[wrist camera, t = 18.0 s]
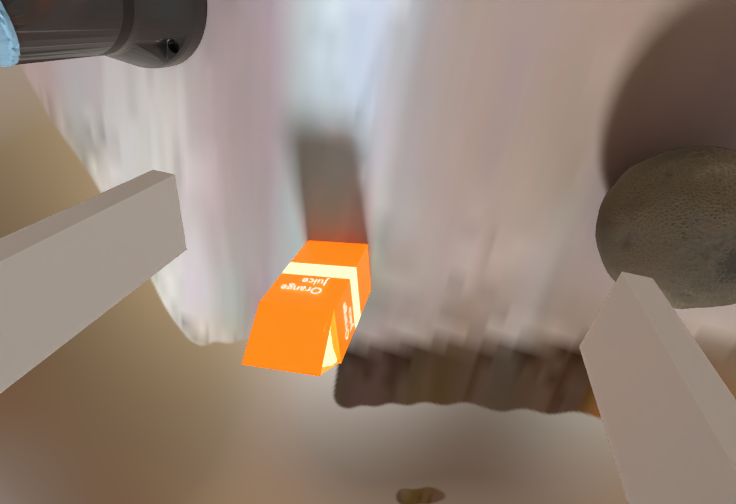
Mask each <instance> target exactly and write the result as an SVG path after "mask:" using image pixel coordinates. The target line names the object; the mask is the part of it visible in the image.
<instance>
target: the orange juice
mask: <svg viewBox="0 0 736 504" xmlns="http://www.w3.org/2000/svg"><path fill="white" fill-rule="evenodd" d="M370 291H371V282H370V268H369V254H368V244H357V243H341V242H325V241H307V242H306V244H305V245H304V246H303V248H302V249H301V250H300V251H299V253H298V254H297V255H296V256H295V258H294V259H293V260H292V261H291V262H290V263H289V265H288V266H287V267H286V268H285V270H284V271H283V272H282V274H281V275H280V277H279V278H278V279H277V280H276V282H275V283H274V284H273V286H272V287H271V288H270V289H269V291H268V292H267V293H266V294H265V296H264V297H263V298H262V299H261V301H260V302H259V306H258V309H257V313H256V316H255V320H254V323H253V327H252V330H251V333H250V337H249V340H248V344H247V348H246V351H245V354H244V358H243V361H242V365H249V366H256V367H262V368H268V369H275V370H282V371H289V372H296V373H302V374H309V375H315V376H320V375H321V374H322V373H324V372H325V371H327V370H329V369H330V368H332V367H334V366H335V365H337V364H339V363H341V362H342V360H343V357H344V355H345V352H346V350H347V347H348V345H349V342H350V340H351V338H352V335H353V333H354V330H355V329H356V326H357V324H358V321H359V319H360V317H361V313H362V311H363V308H364V306H365V303H366V301H367V298H368V296H369V293H370Z"/></svg>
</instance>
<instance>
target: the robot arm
mask: <svg viewBox="0 0 736 504" xmlns="http://www.w3.org/2000/svg"><path fill="white" fill-rule="evenodd" d="M206 13H207V6H206V0H0V66H4V67H7V66H12V65H17V64H27V63H36V62H45V61H55V60H64V59H73V58H83V57H92V56H101V55H105V56H108V57H111V58H114V59H117V60H120V61H123V62H126V63H129V64H132V65H136V66H139V67H144V68H162V67H170V66H174V65H177V64H180V63H182V62H184V61H185V60H187V59H188V58H189V57H190V56H191V55H192V54H193V53H194V51H195V50H196V49H197V47H198V45H199V43H200V41H201V39H202V36H203V33H204V29H205V24H206ZM185 250H187V249H186V243H185V236H184V230H183V223H182V217H181V211H180V204H179V198H178V192H177V185H176V179H175V175H174V174H170V173H165V172H160V171H156V170H152V171H150V172H147V173H145V174H143V175H141V176H138V177H136V178H134V179H132V180H130V181H127V182H125V183H123V184H121V185H118V186H116V187H114V188H112V189H109V190H107V191H105V192H103V193H101V194H98V195H97V196H94V197H92V198H90V199H87V200H85V201H83V202H81V203H78V204H76V205H74V206H72V207H70V208H67V209H65V210H63V211H61V212H58V213H56V214H54V215H52V216H50V217H47V218H45V219H43V220H41V221H38V222H36V223H34V224H32V225H29V226H27V227H25V228H23V229H20V230H18V231H16V232H14V233H12V234H10V235H7V236H5V237H3V238H0V393H1V392H3V391H4V390H5V389H7V388H8V387H9V386H10V385H12V384H13V383H14V382H16V381H17V380H18V379H20V378H21V377H22V376H23V375H25V374H26V373H27V372H29V371H30V370H31V369H33V368H34V367H35V366H36V365H38V364H39V363H40V362H41V361H43V360H44V359H45V358H47V357H48V356H49V355H51V354H52V353H53V352H55V351H56V350H57V349H58V348H60V347H61V346H62V345H64V344H65V343H66V342H67V341H69V340H70V339H71V338H73V337H74V336H75V335H77V334H78V333H79V332H80V331H82V330H83V329H84V328H85V327H87V326H88V325H89V324H90V323H92V322H93V321H95V320H96V319H97V318H99V317H100V316H101V315H102V314H104V313H105V312H106V311H107V310H109V309H110V308H111V307H113V306H114V305H115V304H117V303H118V302H119V301H120V300H122V299H123V298H124V297H126V296H127V295H128V294H130V293H131V292H132V291H133V290H135V289H136V288H137V287H139V286H140V285H141V284H142V283H144V282H145V281H146V280H147V279H149V278H150V277H152V276H153V275H154V274H155V273H157V272H158V271H159V270H161V269H162V268H163V267H165V266H166V265H167V264H168V263H170V262H171V261H172V260H174V259H175V258H176V257H177V256H179V255H180V254H181V253H183V252H184V251H185ZM579 347H580V350H581V354H582V357H583V360H584V363H585V367H586V370H587V373H588V376H589V380H590V383H591V386H592V389H593V392H594V396H595V399H596V402H597V405H598V409H599V412H600V415H601V418H602V422H603V425H604V428H605V431H606V435H607V438H608V441H609V444H610V447H611V451H612V454H613V457H614V460H615V463H616V467H617V470H618V473H619V476H620V479H621V483H622V486H623V489H624V493H625V496H626V499H627V502H628V504H736V400H735V398H734V397H733V395H732V394H731V392H730V391H729V389H728V388H727V386H726V385H725V384H724V382H723V381H722V379H721V378H720V376H719V375H718V373H717V372H716V370H715V369H714V367H713V366H712V364H711V363H710V362H709V360H708V359H707V357H706V356H705V354H704V353H703V351H702V350H701V348H700V347H699V345H698V344H697V342H696V341H695V339H694V338H693V337H692V335H691V334H690V332H689V331H688V329H687V328H686V326H685V325H684V323H683V322H682V320H681V319H680V317H679V316H678V315H677V313H676V312H675V310H674V309H673V307H672V306H671V304H670V303H669V301H668V300H667V298H666V297H665V295H664V294H663V292H662V291H661V290H660V288H659V287H658V285H657V284H656V282H655V281H654V279H653V278H649V277H644V276H640V275H635V274H631V273H626V272H621V273H620V275H619V277H618V279H617V281H616V282H615V284H614V286H613V288H612V289H611V291H610V293H609V295H608V297H607V298H606V300H605V302H604V304H603V305H602V307H601V309H600V311H599V312H598V314H597V316H596V318H595V320H594V321H593V323H592V325H591V327H590V328H589V330H588V332H587V334H586V336H585V337H584V339H583V341H582V343H581V344H580V346H579Z"/></svg>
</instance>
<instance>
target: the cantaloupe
mask: <svg viewBox="0 0 736 504" xmlns="http://www.w3.org/2000/svg"><path fill="white" fill-rule="evenodd" d="M596 242H597V247H598V250H599V253H600V256H601V259H602V262H603V264H604V266H605V268H606V270H607V272H608V273H609V275H610V276H611V277H612V278H613V280H614V281H615V282H616V281H617V279H618V277H619V275H620V273H621V272H626V273H631V274H635V275H640V276H644V277H649V278H653V279H654V281H655V282H656V284H657V285H658V287H659V288H660V290H661V291H662V292H663V294H664V295H665V297H666V298H667V300H668V301H669V303H670V304H671V306H672V307H673V308H676V309H688V308H706V307H715V306H726V305H732V304H735V303H736V151H735V150H731V149H726V148H720V147H711V146H694V147H685V148H679V149H674V150H670V151H667V152H663V153H660V154H657V155H655V156H653V157H650V158H648V159H646V160H644V161H641V162H639V163H637V164H635V165H633V166H632V167H630V168H629V169H628V170H626V171H625V172H624V173H623V174H622V175H621V177H620V178H619V179H618V180H617V182H616V183H615V184H614V185H613V186H612V188H611V189H610V190H609V191H608V192H607V194H606V195H605V197H604V199H603V201H602V204H601V206H600V210H599V214H598V219H597V224H596Z"/></svg>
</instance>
